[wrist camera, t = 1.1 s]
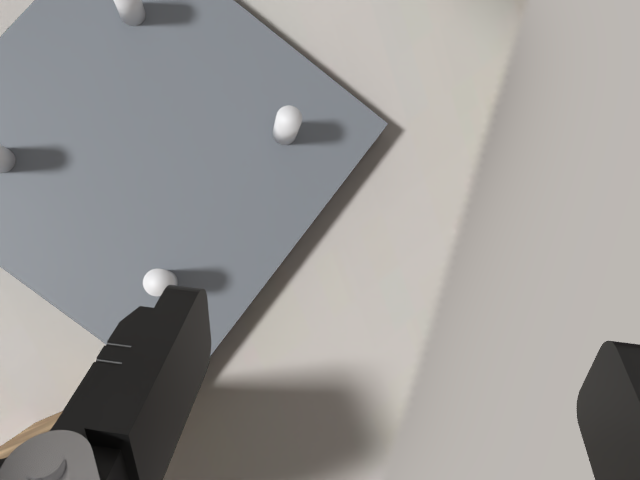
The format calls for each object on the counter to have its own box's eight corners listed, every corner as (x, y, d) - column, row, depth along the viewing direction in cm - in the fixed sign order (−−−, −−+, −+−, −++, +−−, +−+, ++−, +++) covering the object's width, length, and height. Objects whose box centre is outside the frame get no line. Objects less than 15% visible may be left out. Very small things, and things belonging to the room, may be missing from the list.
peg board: (-111, 178, 30) (-170, 159, 26) (125, -74, 33) (108, -130, 29) (181, 392, 32) (172, 409, 27) (381, 130, 35) (402, 107, 30)
